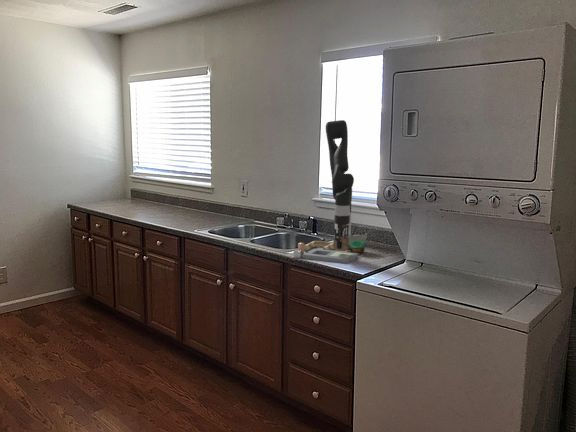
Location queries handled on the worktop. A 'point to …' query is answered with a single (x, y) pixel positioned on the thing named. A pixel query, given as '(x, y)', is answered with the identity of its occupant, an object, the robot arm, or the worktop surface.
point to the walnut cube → (344, 244)
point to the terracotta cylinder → (301, 247)
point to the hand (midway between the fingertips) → (341, 247)
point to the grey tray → (330, 255)
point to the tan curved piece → (319, 245)
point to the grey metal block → (297, 253)
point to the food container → (357, 243)
